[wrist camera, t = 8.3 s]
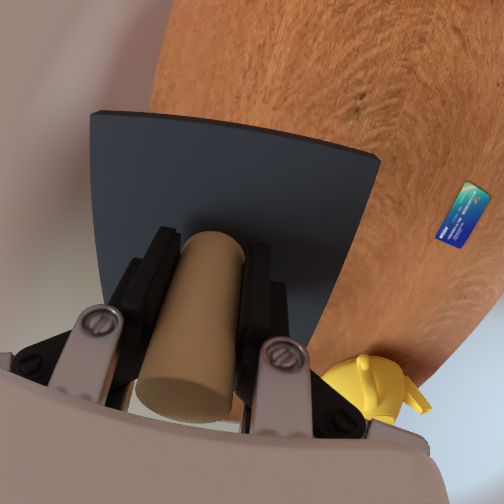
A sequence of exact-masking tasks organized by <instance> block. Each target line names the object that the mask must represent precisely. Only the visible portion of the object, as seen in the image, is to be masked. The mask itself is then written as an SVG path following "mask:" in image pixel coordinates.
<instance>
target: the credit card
mask: <svg viewBox="0 0 504 504" xmlns="http://www.w3.org/2000/svg"><path fill="white" fill-rule="evenodd" d="M489 200H490V195H488V194H487V193H485V192H484V191H482V190H481V189H479V188H478V187H476V186H474V185H473V184H471V183H470V182H468V181H467V182H465V184H464V186H463V188H462V190H461V192H460V193H459V195H458V197H457V199H456V201H455V203H454V205H453V206H452V208H451V210H450V212H449V214H448V215H447V217H446V219H445V221H444V222H443V224H442V226H441V228H440V229H439V231H438V233H437V234H436V239H438V240H440V241H443V242H445V243H447V244H450V245H452V246H454V247H457V248H459V249H460V248H462V246H463V245H464V243H465V242H466V240H467V238H468V237H469V235H470V233H471V232H472V230H473V228H474V227H475V225H476V223H477V222H478V220H479V218H480V216H481V215H482V213H483V211H484V209H485V207H486V206H487V204H488V202H489Z"/></svg>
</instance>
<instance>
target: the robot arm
mask: <svg viewBox="0 0 504 504" xmlns="http://www.w3.org/2000/svg"><path fill="white" fill-rule="evenodd" d="M180 244H181V233H177V232H176V228H171V227H165V226H160V228H159V229H158V231H157V233H156V235H155V237H154V239H153V240H152V242H151V244H150V246H149V248H148V250H147V252H146V253H145V255H144V257H143V259H141V258H136V257H134V258H133V259H132V260H131V261H130V263H129V265H128V267H127V269H126V270H125V272H124V274H123V276H122V278H121V280H120V281H119V283H118V285H117V287H116V289H115V291H114V293H113V295H112V297H111V298H110V300H109V302H108V304H107V305H105V304H98V305H93V306H91V307H88V308H87V309H85V310H84V311H83V312H82V313H81V314H80V315H79V317H78V319H77V321H76V323H75V325H74V327H73V329H72V330H70V331H67V332H65V333H62V334H59V335H57V336H54V337H52V338H49V339H46V340H44V341H41V342H39V343H36V344H34V345H31V346H29V347H26V348H24V349H22V350H21V351H20V352H18V354H16V355H13V354H12V353H11V352H7V353H0V504H449V500H448V495H447V491H446V487H445V484H444V481H443V478H442V475H441V473H440V470H439V468H438V467H437V465H436V463H435V462H434V461H433V459H432V458H431V457H430V447H429V445H428V442H427V441H426V440H425V439H424V438H423V437H422V436H420V435H418V434H415V433H412V432H409V431H406V430H404V429H401V428H398V427H395V426H393V425H390V424H387V423H384V422H382V421H379V420H376V419H374V418H372V419H371V420H368V419H365V418H364V416H363V414H362V413H361V411H360V410H359V409H358V408H357V407H355V406H354V405H353V404H352V403H350V402H349V401H348V400H347V399H346V398H344V397H343V396H342V395H341V394H339V393H338V392H337V391H336V390H335V389H333V388H332V387H331V386H330V385H329V384H327V383H326V382H325V381H324V380H323V379H321V378H320V377H319V376H318V375H317V374H316V373H314V372H313V371H312V370H311V369H310V358H309V354H308V351H307V350H306V348H305V346H304V345H302V344H301V343H300V342H299V341H297V340H295V339H293V338H290V334H289V319H288V304H287V291H286V284H285V283H283V282H277V281H271V280H270V244H267V243H261V242H254V245H249V244H248V246H247V251H246V256H245V261H244V266H243V275H242V285H241V296H240V306H239V317H238V328H237V338H236V364H235V376H234V387H233V391H235V394H236V395H237V396H238V397H239V398H240V399H241V400H242V401H243V403H242V411H241V420H240V428H239V433H233V432H225V431H218V430H210V429H204V428H198V427H191V426H186V425H181V424H176V423H171V422H166V421H160V420H156V419H152V418H148V417H143V416H139V415H135V414H131V413H127V411H128V407H129V402H130V398H131V394H132V390H133V386H134V380H135V379H137V378H138V377H139V374H140V371H141V367H142V364H143V361H144V358H145V355H146V352H147V349H148V345H149V342H150V339H151V336H152V333H153V330H154V327H155V324H156V322H157V319H158V316H159V313H160V310H161V307H162V304H163V301H164V299H165V296H166V293H167V290H168V287H169V285H170V282H171V279H172V276H173V274H174V271H175V268H176V266H177V263H178V260H179V258H180Z"/></svg>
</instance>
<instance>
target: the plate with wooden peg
mask: <svg viewBox="0 0 504 504" xmlns="http://www.w3.org/2000/svg"><path fill="white" fill-rule="evenodd" d="M380 163H381V160H380V159H378V158H377V157H376V156H375V155H374V154H372V153H368V152H365V151H361V150H358V149H354V148H350V147H347V146H343V145H339V144H335V143H331V142H327V141H323V140H319V139H314V138H310V137H306V136H301V135H297V134H292V133H287V132H282V131H277V130H272V129H267V128H262V127H256V126H251V125H245V124H239V123H232V122H226V121H219V120H212V119H204V118H196V117H188V116H179V115H169V114H158V113H144V112H130V111H108V110H107V111H106V110H100V111H98V112H95V113H92V114H91V115H90V182H91V198H92V199H91V200H92V213H93V224H94V233H95V234H94V235H95V244H96V252H97V259H98V267H99V274H100V281H101V287H102V293H103V298H104V303H105V305H107V304H108V302H109V300H110V298H111V297H112V295H113V293H114V291H115V289H116V287H117V285H118V283H119V281H120V280H121V278H122V276H123V274H124V272H125V270H126V269H127V267H128V265H129V263H130V261H131V260H132V259H133V258H134V257H136V258H141V259H143V257H144V255H145V253H146V252H147V250H148V248H149V246H150V244H151V242H152V240H153V239H154V237H155V235H156V233H157V231H158V229H159V228H160V226H165V227H171V228H176V232H177V233H181V244H180V258H179V260H178V263H177V266H176V268H175V271H174V274H173V276H172V279H171V282H170V285H169V287H168V290H167V293H166V296H165V299H164V301H163V304H162V307H161V310H160V313H159V316H158V319H157V322H156V324H155V327H154V330H153V333H152V336H151V339H150V342H149V345H148V349H147V352H146V355H145V358H144V361H143V364H142V367H141V371H140V374H139V377H138V380H137V384H136V388H135V390H136V395H137V397H138V398H139V400H140V401H141V403H142V404H144V405H145V406H146V407H147V408H149V409H150V410H152V411H153V412H155V413H157V414H159V415H161V416H164V417H167V418H170V419H172V420H176V421H180V422H186V423H212V422H216V421H219V420H222V419H224V418H225V417H226V416H228V414H229V413H230V411H231V409H232V399H233V387H234V376H235V364H236V338H237V328H238V317H239V306H240V296H241V285H242V275H243V266H244V261H245V256H246V251H247V246H248V244H249V245H254V242H261V243H267V244H270V280H271V281H277V282H283V283H285V284H286V291H287V304H288V319H289V334H290V338H293V339H295V340H297V341H299V342H300V343H301V344H302V345H304V346H305V348H306V347H307V345H308V343H309V341H310V339H311V337H312V335H313V332H314V330H315V328H316V326H317V324H318V322H319V319H320V317H321V315H322V313H323V311H324V308H325V306H326V304H327V302H328V299H329V297H330V295H331V292H332V290H333V288H334V285H335V283H336V281H337V278H338V276H339V274H340V271H341V269H342V266H343V264H344V261H345V259H346V257H347V254H348V252H349V249H350V246H351V244H352V241H353V239H354V236H355V234H356V231H357V228H358V226H359V223H360V220H361V218H362V215H363V212H364V210H365V207H366V204H367V201H368V199H369V196H370V193H371V190H372V187H373V184H374V181H375V178H376V175H377V172H378V169H379V166H380Z"/></svg>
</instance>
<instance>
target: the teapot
mask: <svg viewBox="0 0 504 504" xmlns="http://www.w3.org/2000/svg"><path fill="white" fill-rule="evenodd" d="M321 379H323V380H324V381H325V382H326V383H327V384H329V385H330V386H331V387H332V388H333V389H335V390H336V391H337V392H338V393H339V394H341V395H342V396H343V397H344V398H346V399H347V400H348V401H349V402H350V403H352V404H353V405H354V406H355V407H357V408H358V409H359V410H360V411H361V413H362V414H363V416H364V418H365V419H368V420H371V419H372V418H374V419H376V420H379V421H382V422H384V423H387V424H390V425H393V424H394V422H395V420H396V418H397V416H398V414H399V411H400V408H401V405H402V402H405V403H406V404H407V405H409V406H410V407H412V408H413V409H415V410H416V411H418V412H419V413H420V414H424V413H427V412H429V411H430V410H431V409H432V407H431V406H430V404H429V403H428V402H427V401H426V399H425V398H424V396H423V395H422V394H421V392H420V391H419V390H418V389H417V387H416V386H415V385H414V383H413V382H412V381H411V380H410V378H409V377H408V376H404V375H403V371H402V369H401V367H400V366H399V365H398V364H397V363H395V362H393V361H391V360H389V359H386V358H384V357H380V356H373V355H367V354H361V355H359V356H358V357H355V358H351V359H348V360H345V361H342V362H340V363H338V364H336V365H335V366H333V367H331V368H330V369H329V370H328V371H327V372H326V373H325V374H324V375H323V376H322V377H321Z"/></svg>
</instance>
